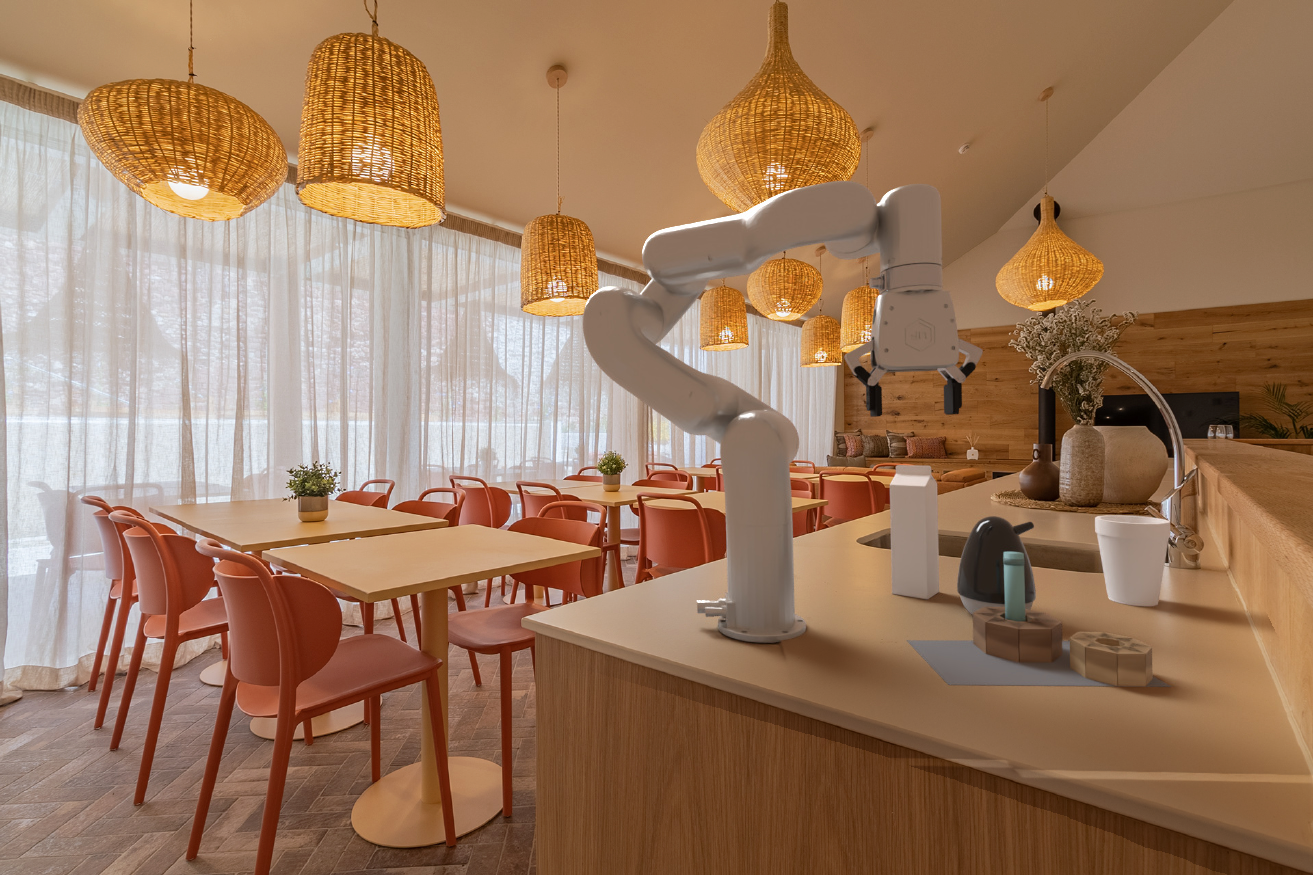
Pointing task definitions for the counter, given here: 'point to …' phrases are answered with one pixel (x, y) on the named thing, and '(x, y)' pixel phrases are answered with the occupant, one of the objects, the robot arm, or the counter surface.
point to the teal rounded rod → (1014, 586)
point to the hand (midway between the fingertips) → (913, 415)
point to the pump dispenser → (991, 564)
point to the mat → (1000, 667)
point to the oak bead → (1111, 658)
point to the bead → (1018, 635)
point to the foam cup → (1133, 557)
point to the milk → (914, 532)
